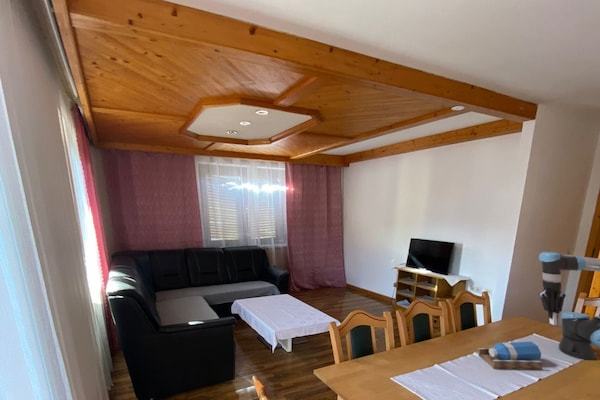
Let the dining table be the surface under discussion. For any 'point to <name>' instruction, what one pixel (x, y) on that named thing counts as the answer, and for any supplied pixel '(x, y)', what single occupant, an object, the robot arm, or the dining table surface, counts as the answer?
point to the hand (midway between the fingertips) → (553, 324)
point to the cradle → (508, 362)
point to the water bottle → (516, 351)
